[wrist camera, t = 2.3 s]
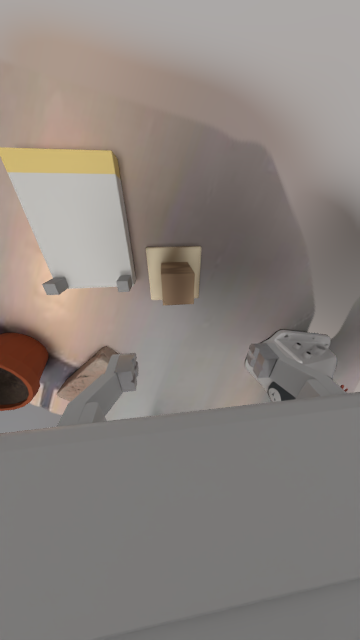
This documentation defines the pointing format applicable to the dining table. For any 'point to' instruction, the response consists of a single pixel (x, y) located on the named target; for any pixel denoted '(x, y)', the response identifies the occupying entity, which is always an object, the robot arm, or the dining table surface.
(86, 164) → the dock
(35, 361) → the potted plant
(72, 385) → the brick
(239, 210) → the dining table surface
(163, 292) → the wooden block on base
